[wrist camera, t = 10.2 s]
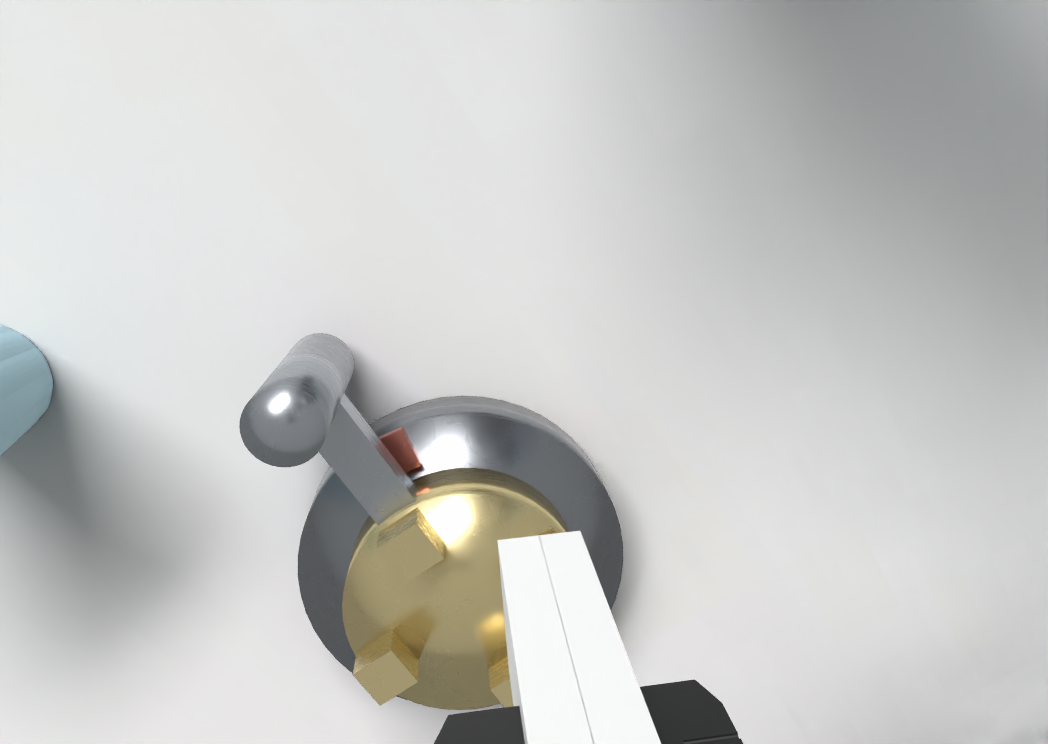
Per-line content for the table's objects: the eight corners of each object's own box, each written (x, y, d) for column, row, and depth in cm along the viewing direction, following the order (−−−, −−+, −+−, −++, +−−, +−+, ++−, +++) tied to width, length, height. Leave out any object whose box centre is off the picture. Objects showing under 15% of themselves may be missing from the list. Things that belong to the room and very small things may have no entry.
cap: (461, 331, 36) (463, 347, 33) (668, 531, 41) (688, 563, 37) (242, 547, 38) (224, 582, 35) (463, 718, 42) (465, 763, 39)
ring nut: (605, 569, 40) (651, 680, 31) (435, 675, 40) (434, 814, 32) (399, 273, 34) (385, 309, 26) (206, 402, 35) (129, 478, 26)
